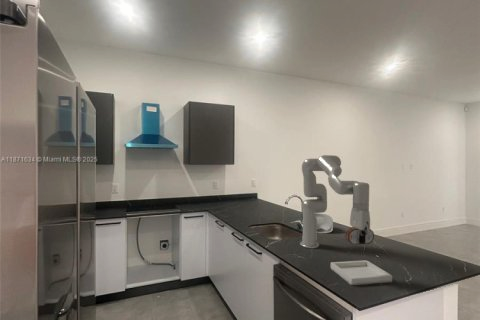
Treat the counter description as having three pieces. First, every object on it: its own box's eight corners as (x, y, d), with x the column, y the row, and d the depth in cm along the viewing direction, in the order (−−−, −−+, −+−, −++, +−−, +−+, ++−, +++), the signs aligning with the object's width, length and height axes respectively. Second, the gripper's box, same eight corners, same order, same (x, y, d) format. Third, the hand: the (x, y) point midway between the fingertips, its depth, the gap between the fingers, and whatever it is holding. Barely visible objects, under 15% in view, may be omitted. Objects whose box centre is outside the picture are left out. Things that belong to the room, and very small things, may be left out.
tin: (370, 242, 127) (371, 226, 127) (375, 244, 124) (375, 227, 124) (344, 243, 124) (345, 227, 125) (348, 245, 121) (348, 228, 122)
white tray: (330, 268, 131) (330, 262, 131) (366, 265, 135) (366, 260, 135) (351, 285, 113) (351, 278, 113) (392, 282, 117) (392, 275, 117)
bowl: (328, 227, 213) (329, 214, 213) (333, 234, 194) (333, 219, 194) (305, 225, 216) (305, 212, 216) (307, 232, 197) (307, 217, 197)
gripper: (344, 203, 132) (343, 237, 132) (364, 209, 116) (364, 248, 116) (356, 203, 133) (356, 236, 133) (378, 209, 117) (377, 247, 117)
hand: (359, 241), depth 124 cm, fingers closed on tin, 2 cm apart
